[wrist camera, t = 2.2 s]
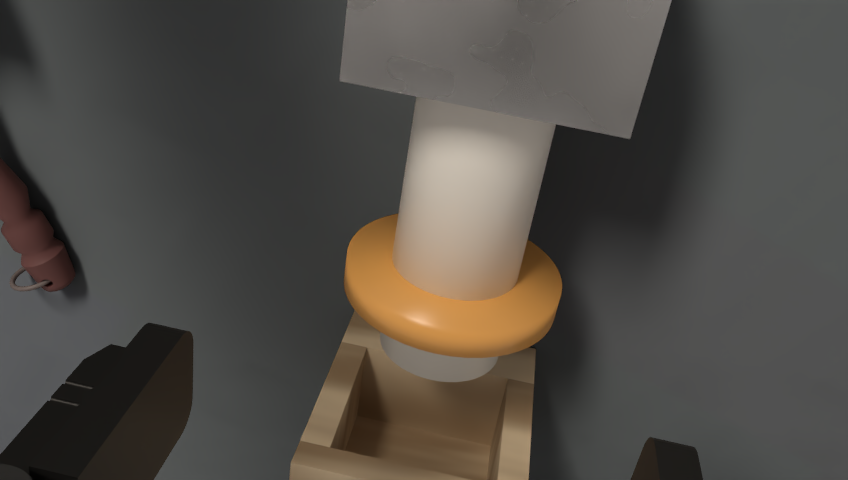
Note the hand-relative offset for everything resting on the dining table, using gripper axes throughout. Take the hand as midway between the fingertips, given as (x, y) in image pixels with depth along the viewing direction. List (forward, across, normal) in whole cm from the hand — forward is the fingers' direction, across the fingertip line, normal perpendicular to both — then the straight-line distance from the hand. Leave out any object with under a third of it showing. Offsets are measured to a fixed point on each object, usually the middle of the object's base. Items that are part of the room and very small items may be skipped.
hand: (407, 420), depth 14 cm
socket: (+16, 0, +12) cm, 20 cm away
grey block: (+16, 0, -6) cm, 17 cm away
